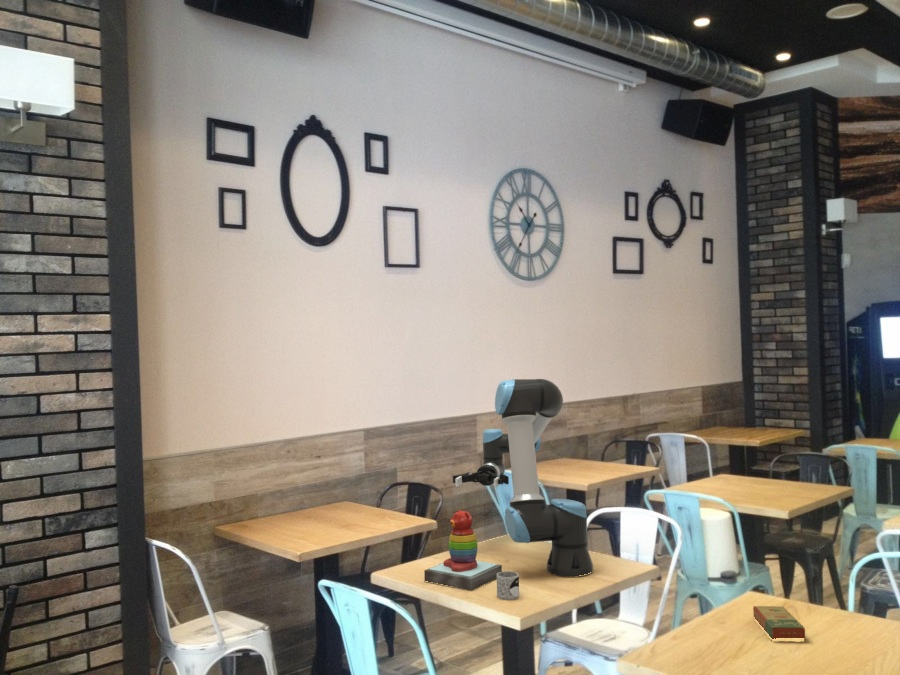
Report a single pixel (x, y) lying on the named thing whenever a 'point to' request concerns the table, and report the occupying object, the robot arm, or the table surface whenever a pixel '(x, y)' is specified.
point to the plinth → (463, 575)
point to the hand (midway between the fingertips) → (475, 483)
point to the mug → (508, 585)
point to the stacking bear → (462, 543)
